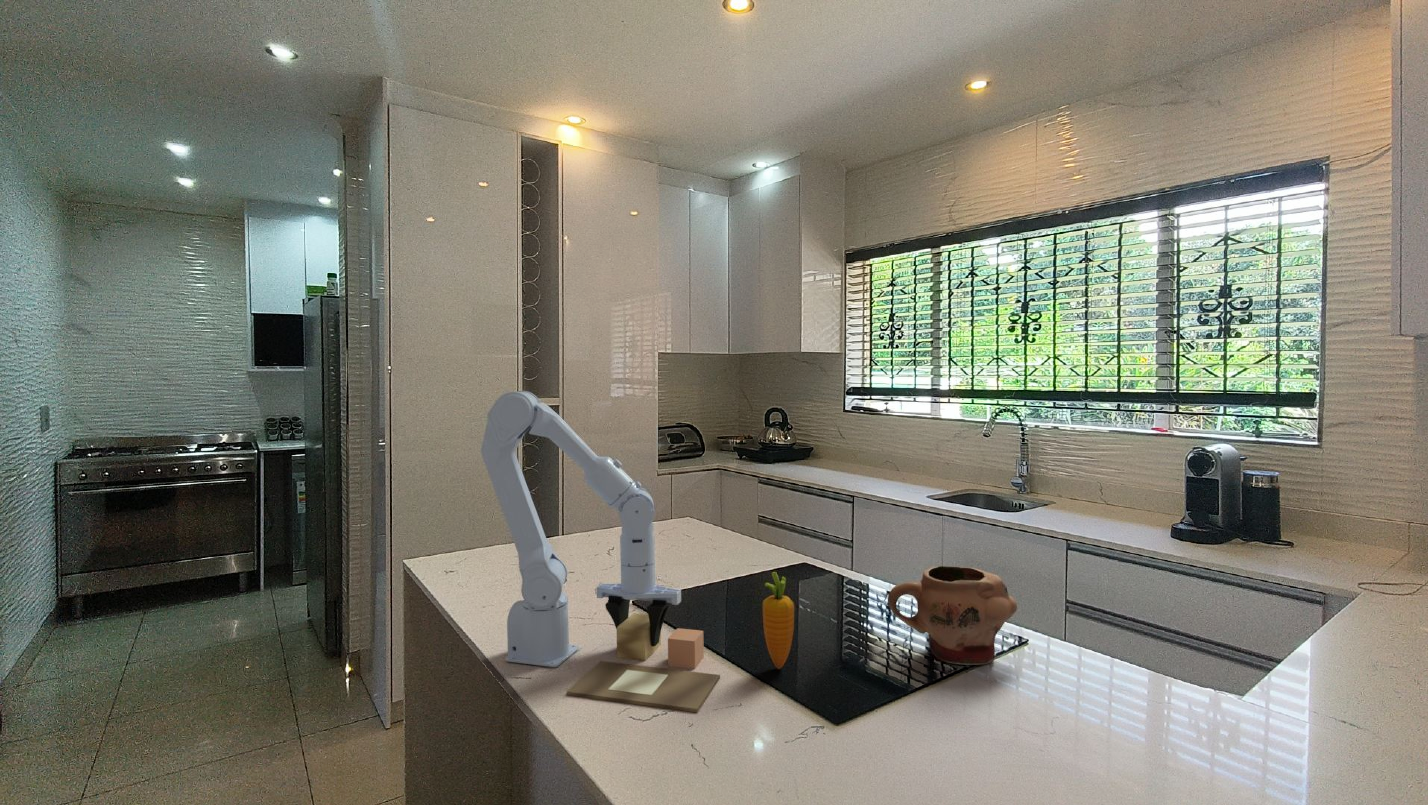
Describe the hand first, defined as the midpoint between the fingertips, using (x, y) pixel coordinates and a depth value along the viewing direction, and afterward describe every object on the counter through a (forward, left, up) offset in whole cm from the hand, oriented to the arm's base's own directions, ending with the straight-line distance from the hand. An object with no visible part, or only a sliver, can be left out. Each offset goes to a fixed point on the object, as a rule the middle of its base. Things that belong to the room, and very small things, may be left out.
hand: (639, 642), depth 115 cm
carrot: (+24, -1, -2) cm, 24 cm away
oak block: (0, 0, -1) cm, 1 cm away
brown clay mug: (+50, +11, -2) cm, 51 cm away
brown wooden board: (+6, -12, -1) cm, 13 cm away
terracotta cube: (+9, -2, -2) cm, 9 cm away
